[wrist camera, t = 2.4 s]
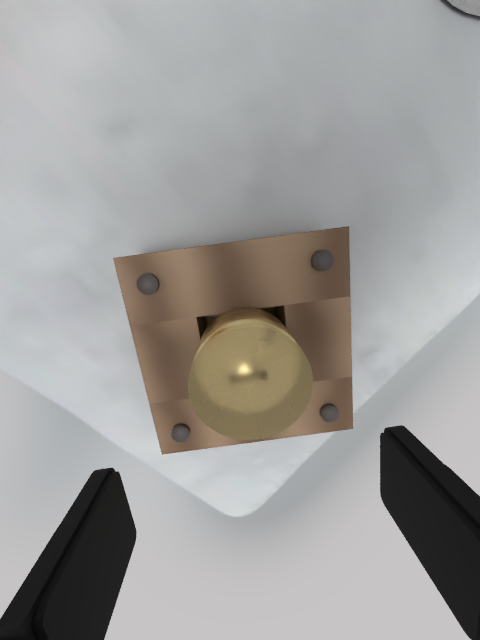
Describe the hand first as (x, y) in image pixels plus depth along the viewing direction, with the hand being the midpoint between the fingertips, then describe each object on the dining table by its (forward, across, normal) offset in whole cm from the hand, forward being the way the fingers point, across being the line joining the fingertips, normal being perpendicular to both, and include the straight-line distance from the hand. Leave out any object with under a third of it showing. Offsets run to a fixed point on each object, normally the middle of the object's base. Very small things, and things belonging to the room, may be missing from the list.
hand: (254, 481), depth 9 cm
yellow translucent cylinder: (+16, -1, -1) cm, 16 cm away
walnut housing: (+17, -1, -1) cm, 17 cm away
